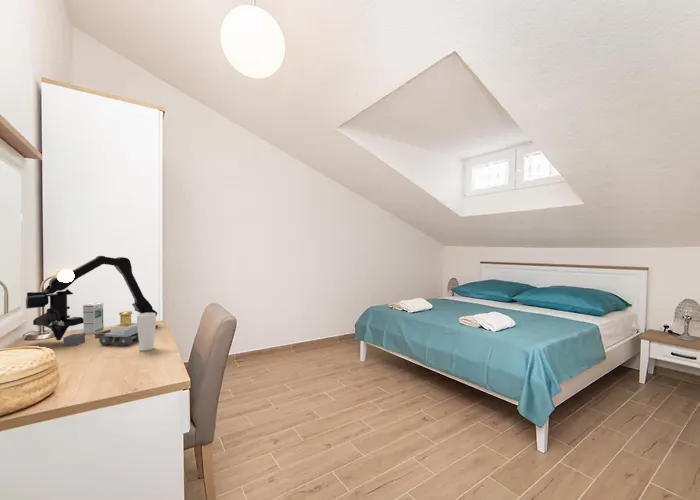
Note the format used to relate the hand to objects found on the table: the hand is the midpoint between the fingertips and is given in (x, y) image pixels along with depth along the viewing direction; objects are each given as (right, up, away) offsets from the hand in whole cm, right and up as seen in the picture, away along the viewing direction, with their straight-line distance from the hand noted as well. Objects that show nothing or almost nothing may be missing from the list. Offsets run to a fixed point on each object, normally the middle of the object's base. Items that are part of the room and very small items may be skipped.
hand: (58, 340), depth 144 cm
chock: (+7, -2, -1) cm, 8 cm away
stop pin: (+28, +4, +3) cm, 29 cm away
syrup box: (+1, -1, +18) cm, 18 cm away
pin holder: (+14, -1, +12) cm, 18 cm away
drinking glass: (+44, -2, -7) cm, 44 cm away
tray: (+28, +4, +2) cm, 29 cm away
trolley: (+28, -2, +2) cm, 28 cm away
